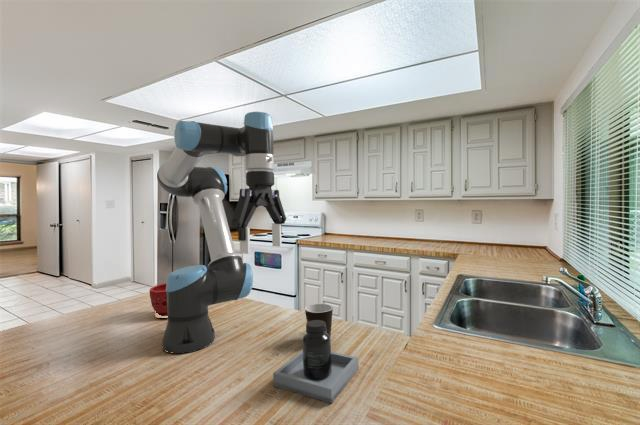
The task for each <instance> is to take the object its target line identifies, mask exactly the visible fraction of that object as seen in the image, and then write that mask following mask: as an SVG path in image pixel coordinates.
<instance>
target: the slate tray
mask: <svg viewBox="0 0 640 425" xmlns="http://www.w3.org/2000/svg"><path fill="white" fill-rule="evenodd" d="M331 361H332V372H331V374H330V376H328V377H327V378H325V379H322V380H312V379H309V378H307V377H306V376H305V375H304V371H303V349H302V350H300V351H299V352H298V353H296V354H295V355H294V356H293V357H292V358H290V359H289V360H287V362H285V363H284V364H283V365H281V366H280V367H279V368H278V369H276V370H275V371H274V372H273V373H272V377H273V378H272V380H273V386H274V387H275V388H276V387H277V388H279V389H282V390H286V391H289V392H292V393H295V394H299V395H303V396H304V397H309V398H311V399H315V400H319V401H322V402H325V403H328V404H333V403H334V402H335V401H336V399H337V398H338V397H339V395H340V394H341V393H342V391H343V390H344V389H345V387H346V386H347V385H348V384H349V382H350V381H351V380H352V378H353V377H354V376H355V374H357V372H358V371H359V357H357V356H353V355H349V354H344V353H339V352H335V351H331Z"/></svg>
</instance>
